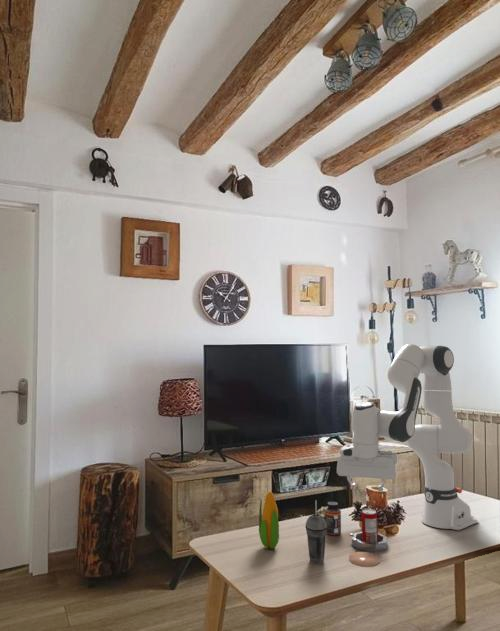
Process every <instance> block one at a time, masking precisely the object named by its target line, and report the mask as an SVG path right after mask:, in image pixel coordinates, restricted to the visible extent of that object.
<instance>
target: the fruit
mask: <svg viewBox="0 0 500 631" xmlns="http://www.w3.org/2000/svg"><path fill="white" fill-rule="evenodd" d="M326 508H328V505H326V506H321V508H319V509H317V514H319V515H321V516H322V517H323V518H324V519H325V510H326Z"/></svg>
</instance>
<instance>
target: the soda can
mask: <svg viewBox="0 0 500 631" xmlns="http://www.w3.org/2000/svg"><path fill="white" fill-rule="evenodd" d="M378 526H379V525H378V513H377V511H376V510H375V509H371V508H364V509H362V511H361V531H362V540H361V541H362V542H367V543H377V542H378V533H379V529H378Z"/></svg>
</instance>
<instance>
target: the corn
mask: <svg viewBox="0 0 500 631" xmlns="http://www.w3.org/2000/svg"><path fill="white" fill-rule="evenodd" d="M262 501H263V500H262V499H260V503H259V515H258V533H259V539H260V542H261V544H262V545H263V547H265V549H268V550H273V549H275V548H276V547H277V545H278V543H279V539H280V529H279V528H280V525H279V509H278V506H277V503H276V498H275V495H274V494H273V492H272V491H268V492H267V494H266V495H265V500H264V504H263V503H262ZM262 504H263V509H262ZM262 510H263V511H262Z"/></svg>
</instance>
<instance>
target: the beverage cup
mask: <svg viewBox="0 0 500 631" xmlns="http://www.w3.org/2000/svg"><path fill="white" fill-rule="evenodd" d="M317 504H318V502H317V499H316V500H315V502H314V505H315V508H314V509H315V510H314V513H312V514H311V515H310V516H308V518H307V519H306V521H305V531H306V534H307V535H306V537H307V547H308V557H309V563H310V564H312V565H316V566H317V565H323V564H324V560H325V553H326V552H325V551H326V539H327V538H326V535H327V533H326V532H327V524H326V521H325V519H324V518H323V517H322V516H321V515H319V514H317V511H318V505H317Z"/></svg>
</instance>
